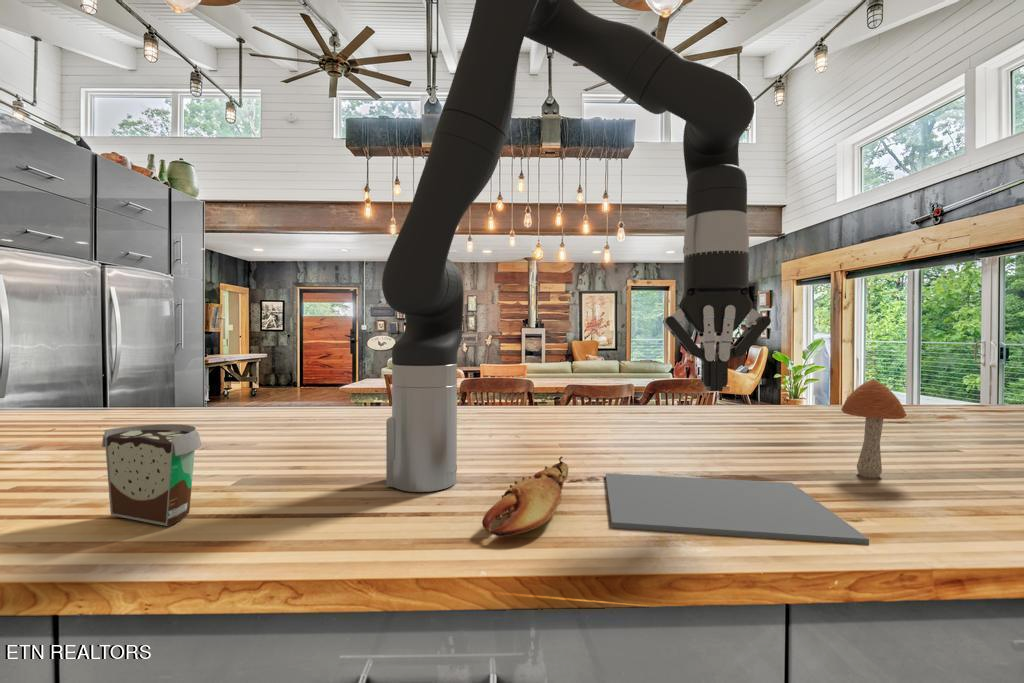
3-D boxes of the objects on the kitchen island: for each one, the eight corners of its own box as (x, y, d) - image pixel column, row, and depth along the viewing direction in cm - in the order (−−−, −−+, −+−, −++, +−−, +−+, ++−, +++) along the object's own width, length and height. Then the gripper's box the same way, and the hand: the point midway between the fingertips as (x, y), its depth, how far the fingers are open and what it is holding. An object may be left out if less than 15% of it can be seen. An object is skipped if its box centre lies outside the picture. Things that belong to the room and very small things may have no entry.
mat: (611, 527, 54) (612, 522, 54) (605, 477, 72) (605, 473, 72) (869, 544, 50) (869, 539, 50) (791, 486, 68) (791, 482, 68)
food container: (226, 508, 59) (225, 427, 59) (176, 527, 53) (176, 437, 53) (155, 496, 63) (155, 420, 63) (102, 513, 57) (101, 429, 57)
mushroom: (896, 474, 75) (897, 378, 75) (913, 488, 68) (915, 382, 68) (835, 467, 78) (837, 375, 78) (845, 481, 71) (847, 380, 71)
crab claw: (594, 459, 64) (527, 538, 47) (589, 493, 66) (522, 581, 49) (548, 444, 68) (468, 512, 50) (543, 476, 69) (465, 554, 52)
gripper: (665, 249, 58) (664, 393, 58) (784, 246, 56) (782, 395, 56) (656, 259, 65) (656, 386, 65) (761, 256, 63) (759, 388, 63)
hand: (714, 390), depth 61 cm, fingers closed
